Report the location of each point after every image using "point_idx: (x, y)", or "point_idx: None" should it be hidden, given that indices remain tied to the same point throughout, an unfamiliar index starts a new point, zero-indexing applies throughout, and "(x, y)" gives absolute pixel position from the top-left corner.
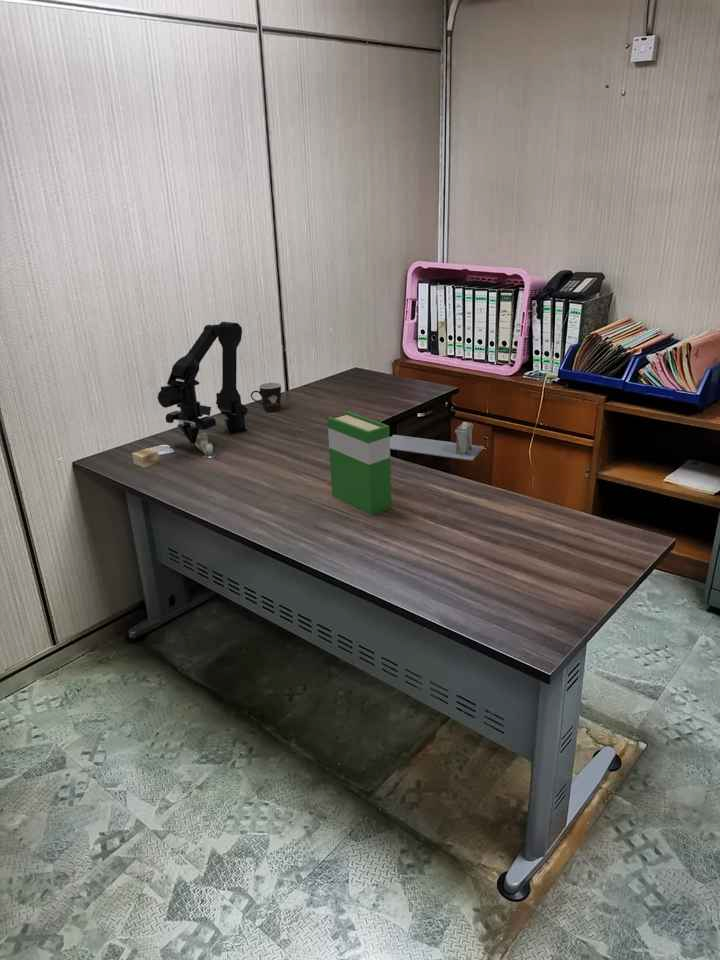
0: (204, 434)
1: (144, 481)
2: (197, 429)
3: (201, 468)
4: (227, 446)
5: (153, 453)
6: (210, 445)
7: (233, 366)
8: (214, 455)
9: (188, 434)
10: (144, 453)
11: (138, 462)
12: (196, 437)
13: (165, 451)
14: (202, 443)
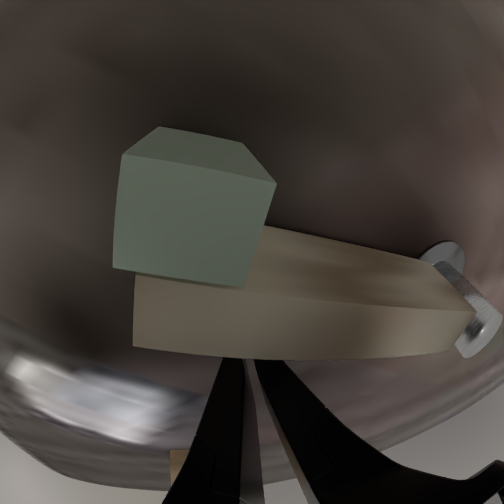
0: (243, 228)
1: None
2: (374, 475)
3: (452, 355)
4: (432, 71)
5: None
6: (495, 329)
7: None
8: (456, 263)
9: (259, 470)
10: None
11: None
12: (301, 386)
13: (122, 407)
14: (420, 352)
